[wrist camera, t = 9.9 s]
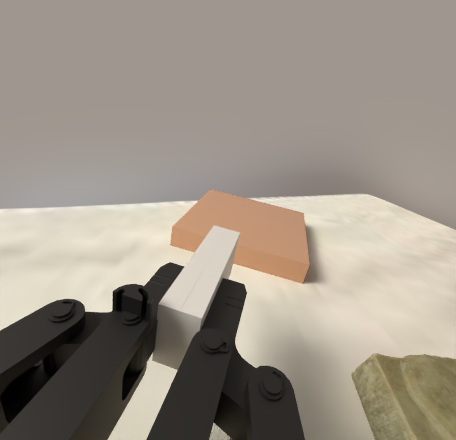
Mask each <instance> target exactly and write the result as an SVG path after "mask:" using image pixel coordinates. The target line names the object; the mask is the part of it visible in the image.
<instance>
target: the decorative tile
mask: <svg viewBox="0 0 456 440" xmlns="http://www.w3.org/2000/svg"><path fill="white" fill-rule="evenodd" d="M352 379H353V381H354V384H355V387H356V389H357V392H358V395H359V397H360V400H361V403H362V405H363V408H364V411H365V413H366V416H367V419H368V421H369V424H370V427H371V429H372V432H373V434H374V437H375V440H456V359H451V358H442V357H438V356H430V355H426V354H424V355H409V356H406V357H404V358H396V357H389V356H384V355H381V354H378V353H377V354H373V355H372V356H371V357H369V358H368V359H367V360H366V361H365V362H364V363H362V364H361V365H360V366H359V367H358V368H357V369H356V371H355V372H353V373H352Z"/></svg>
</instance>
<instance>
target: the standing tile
mask: <svg viewBox="0 0 456 440" xmlns="http://www.w3.org/2000/svg"><path fill="white" fill-rule="evenodd" d="M214 225H215V226H218V227H222V228H226V229H229V230H233V231H236V232H240V236H239V240H238V244H237V248H236V252H235V257H234V261H233V263H234V264H237V265H241V266H244V267H247V268H251V269H254V270H258V271H261V272H265V273H268V274H271V275H275V276H278V277H282V278H285V279H289V280H292V281H296V282H299V283H302V284H303V281H304V279H305V276H306V274H307V271H308V268H309V266H310V262H309V254H308V246H307V238H306V229H305V221H304V213H301V212H297V211H293V210H290V209H286V208H282V207H278V206H274V205H270V204H266V203H262V202H258V201H254V200H251V199H247V198H243V197H239V196H235V195H231V194H227V193H223V192H219V191H215V190H209V192H207V193H206V194H205V195H204V196H203V197H202V198H201V199H200V200H199V201H198V202H197V203H196V204H195V205H194V206H193V207H192V208H191V209H190V210H189V211H188V212H187V213H186V214H185V215H184V216H183V217H182V218H181V219H180V220H179V221H178V222H177V223H176V224H175V225H174V226H173V227H172V235H171V244H170V245H172V246H175V247H179V248H182V249H186V250H189V251H192V252H195V251H196V250H197V249H198V247H199V246H200V244H201V243H202V242H203V240H204V239H205V237H206V236H207V234H208V233H209V232H210V230H211V229H212V227H213V226H214Z"/></svg>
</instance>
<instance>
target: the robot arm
mask: <svg viewBox="0 0 456 440" xmlns="http://www.w3.org/2000/svg"><path fill="white" fill-rule="evenodd" d="M239 236H240V232H236V231H233V230H229V229H226V228H222V227H218V226H215V225H214V226H213V227H212V229H211V230H210V232H209V233H208V234H207V236H206V237H205V239H204V240H203V242H202V243H201V244H200V246H199V247H198V249H197V250H196V251H195V253H194V254H193V256H192V257H191V258H190V260H189V261H188V263H187V264H186V265H185V267H184V266H180V265H177V264H174V263H171V262H170V263H168V264H166V265H164V266H162V267H160V268H159V270H158V271H157V272H156V273H155V275H153V277H152V278H151V279H150V281H148V282H147V284H146V285H145V286H142V285H137V284H129V285H124V286H121V287H119V288H117V289H116V290H114V291H113V311H112V312H108V313H99V312H85V307H84V305H83V304H82V303H81V302H80V301H77V300H74V299H63V300H57V301H55V302H52V303H50V304H48V305H46V306H44V307H42V308H40V309H39V310H37V311H35V312H33V313H31V314H30V315H28V316H26V317H24V318H22V319H21V320H19V321H17V322H15V323H13V324H11V325H10V326H8V327H6V328H4V329H2V330H1V331H0V440H107V439H108V438H109V436H110V434H111V432H112V431H113V429H114V427H115V425H116V424H117V422H118V420H119V418H120V417H121V415H122V413H123V411H124V410H125V408H126V406H127V404H128V402H129V401H130V399H131V397H132V395H133V394H134V392H135V390H136V388H137V387H138V385H139V383H140V381H141V380H142V378H143V376H144V374H145V371H146V366H147V361H148V359H149V358H150V356H151V354H152V353H153V359H152V361H155V362H158V363H161V364H163V365H166V366H169V367H172V368H174V369H177V370H178V371H177V373H176V376H175V378H174V380H173V382H172V384H171V387H170V389H169V391H168V393H167V395H166V398H165V400H164V402H163V404H162V406H161V409H160V411H159V413H158V415H157V418H156V420H155V422H154V424H153V426H152V429H151V431H150V433H149V435H148V437H147V440H209V437H210V433H211V430H212V426H213V422H214V423H215V424H216V425H217V426H218V427H220V428H221V429H222V430H223V431H224V432H225V433H226V434H227V435H229V436H230V440H305V438H304V434H303V429H302V425H301V421H300V416H299V412H298V407H297V403H296V399H295V394H294V390H293V388H292V385H291V383H290V381H289V379H288V378H287V377H286V376H285V375H284V373H282V372H281V371H279V370H278V369H276V368H274V367H270V366H259V367H258V368H255V367H253V366H252V365H250V364H249V363H248V362H246V361H245V360H244V359H243V358H242V357H241V356H240V354H239V353H238V351H237V349H236V345H235V337H236V333H237V329H238V325H239V321H240V318H241V314H242V310H243V306H244V302H245V298H246V294H247V292H246V289H245V285H244V284H241V283H238V282H235V281H232V280H228V278H229V276H230V273H231V269H232V265H233V261H234V257H235V252H236V248H237V244H238V240H239Z"/></svg>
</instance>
